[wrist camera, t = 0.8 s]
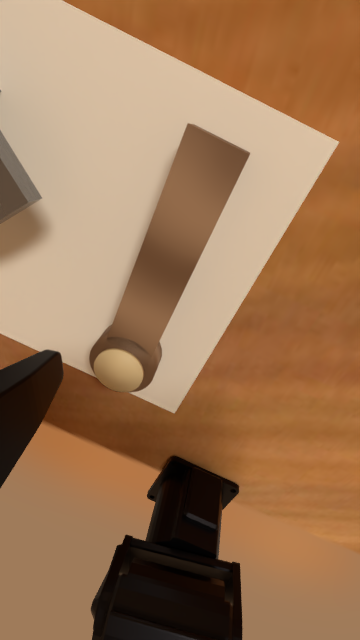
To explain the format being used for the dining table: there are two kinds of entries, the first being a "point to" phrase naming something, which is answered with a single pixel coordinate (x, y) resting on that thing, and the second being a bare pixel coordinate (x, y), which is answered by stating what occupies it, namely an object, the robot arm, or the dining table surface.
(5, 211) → the block
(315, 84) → the dining table surface
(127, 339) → the link
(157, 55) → the pivot plate
